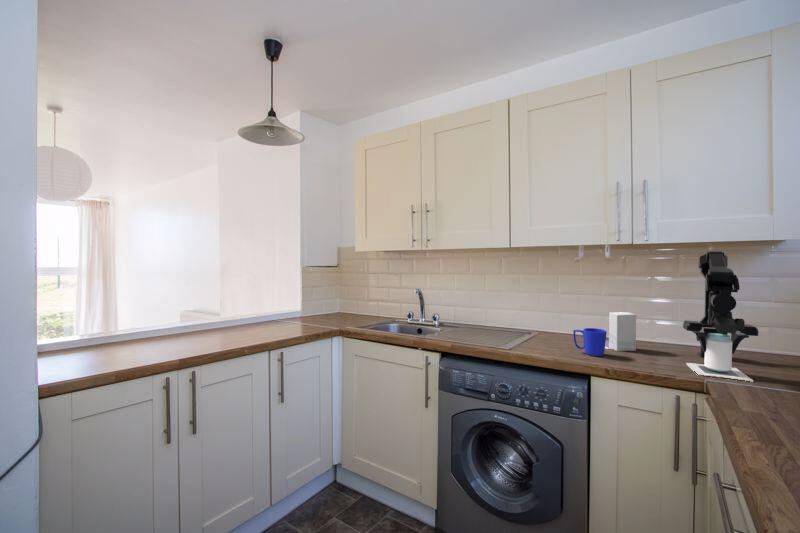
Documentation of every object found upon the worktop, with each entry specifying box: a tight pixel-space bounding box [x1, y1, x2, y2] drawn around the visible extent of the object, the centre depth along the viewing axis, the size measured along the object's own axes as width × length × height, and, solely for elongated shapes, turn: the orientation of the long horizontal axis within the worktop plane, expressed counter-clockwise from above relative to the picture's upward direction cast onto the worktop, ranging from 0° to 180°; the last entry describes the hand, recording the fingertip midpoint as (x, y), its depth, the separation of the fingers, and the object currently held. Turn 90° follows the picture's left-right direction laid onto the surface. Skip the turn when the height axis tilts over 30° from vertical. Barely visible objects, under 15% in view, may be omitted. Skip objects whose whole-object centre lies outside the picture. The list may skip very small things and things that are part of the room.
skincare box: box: [608, 311, 637, 352], centre depth 155 cm, size 8×7×16 cm
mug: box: [572, 327, 608, 357], centre depth 148 cm, size 8×12×10 cm
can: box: [703, 333, 733, 372], centre depth 125 cm, size 7×7×12 cm
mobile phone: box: [605, 339, 614, 350], centre depth 162 cm, size 8×1×15 cm
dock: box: [685, 362, 754, 383], centre depth 125 cm, size 14×14×1 cm
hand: (718, 352), depth 125 cm, fingers closed on can, 7 cm apart
